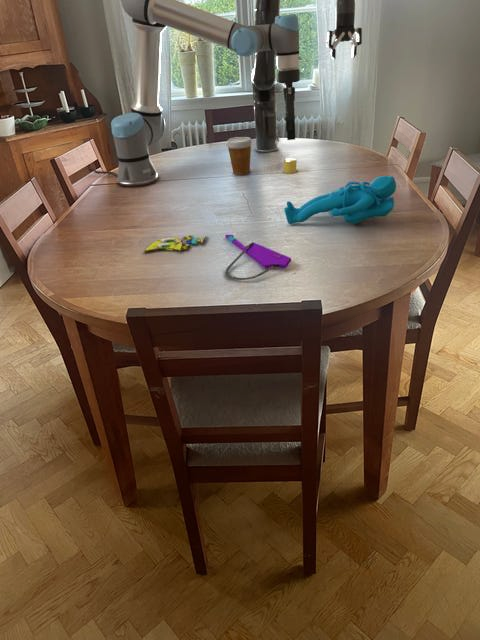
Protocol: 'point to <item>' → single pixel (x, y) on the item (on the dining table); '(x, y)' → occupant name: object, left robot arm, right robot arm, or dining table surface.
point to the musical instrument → (259, 257)
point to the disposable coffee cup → (240, 154)
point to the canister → (290, 165)
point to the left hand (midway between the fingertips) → (290, 135)
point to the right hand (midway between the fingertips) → (343, 58)
